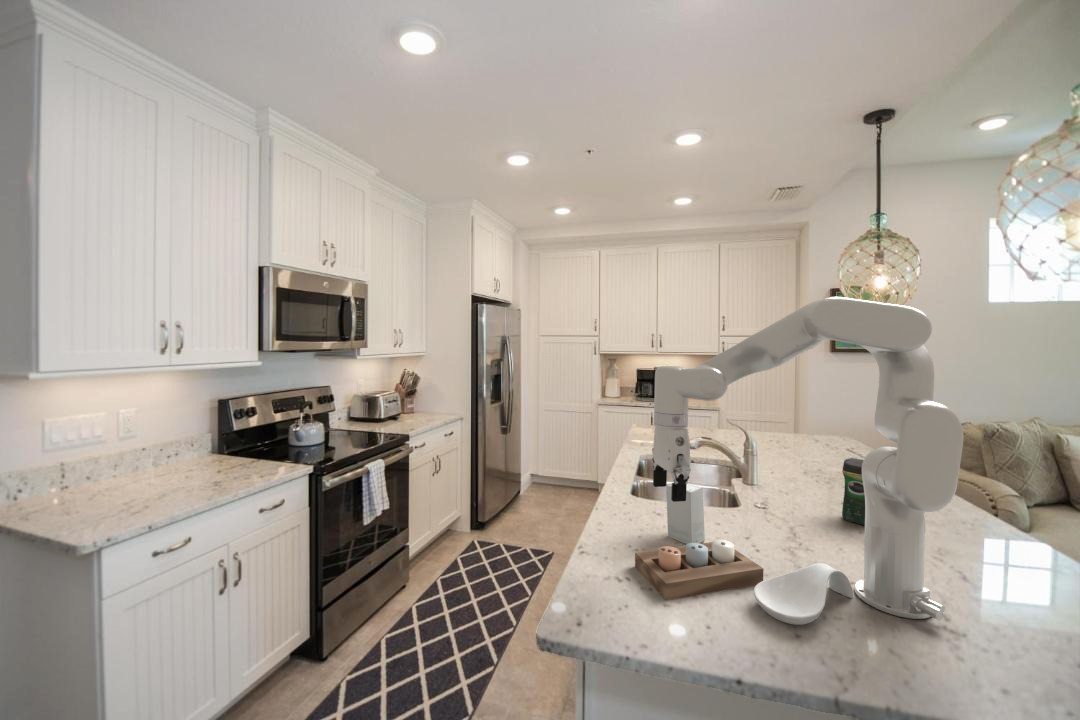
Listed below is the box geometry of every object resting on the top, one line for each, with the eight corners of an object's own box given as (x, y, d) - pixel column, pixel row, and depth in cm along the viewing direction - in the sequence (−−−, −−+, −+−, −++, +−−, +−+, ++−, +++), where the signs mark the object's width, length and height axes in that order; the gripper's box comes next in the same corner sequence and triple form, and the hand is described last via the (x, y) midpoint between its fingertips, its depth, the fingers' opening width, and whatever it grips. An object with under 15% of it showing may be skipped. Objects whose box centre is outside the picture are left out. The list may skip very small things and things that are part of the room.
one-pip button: (738, 566, 99) (739, 546, 99) (720, 568, 97) (720, 549, 97) (724, 556, 103) (725, 537, 103) (707, 558, 102) (707, 539, 102)
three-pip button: (685, 574, 95) (685, 554, 95) (665, 577, 94) (665, 556, 94) (673, 563, 100) (673, 544, 100) (654, 566, 99) (654, 546, 99)
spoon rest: (797, 643, 76) (798, 603, 76) (740, 607, 87) (740, 572, 87) (871, 607, 87) (872, 572, 86) (812, 579, 97) (813, 548, 97)
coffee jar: (886, 523, 127) (887, 461, 126) (876, 530, 122) (877, 465, 122) (848, 513, 135) (849, 454, 134) (837, 519, 130) (838, 458, 130)
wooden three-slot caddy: (763, 583, 95) (763, 568, 95) (666, 599, 89) (666, 583, 89) (721, 554, 108) (721, 540, 108) (635, 566, 103) (635, 552, 102)
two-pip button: (712, 570, 97) (712, 550, 97) (693, 573, 96) (693, 552, 96) (699, 560, 102) (699, 540, 101) (681, 562, 100) (681, 543, 100)
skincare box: (705, 542, 115) (705, 487, 115) (690, 547, 112) (691, 491, 112) (679, 530, 122) (679, 479, 122) (665, 536, 119) (665, 483, 119)
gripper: (705, 426, 91) (703, 506, 91) (669, 413, 108) (667, 481, 108) (672, 427, 89) (670, 508, 90) (640, 413, 107) (639, 481, 107)
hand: (668, 493), depth 99 cm, fingers open, 9 cm apart
